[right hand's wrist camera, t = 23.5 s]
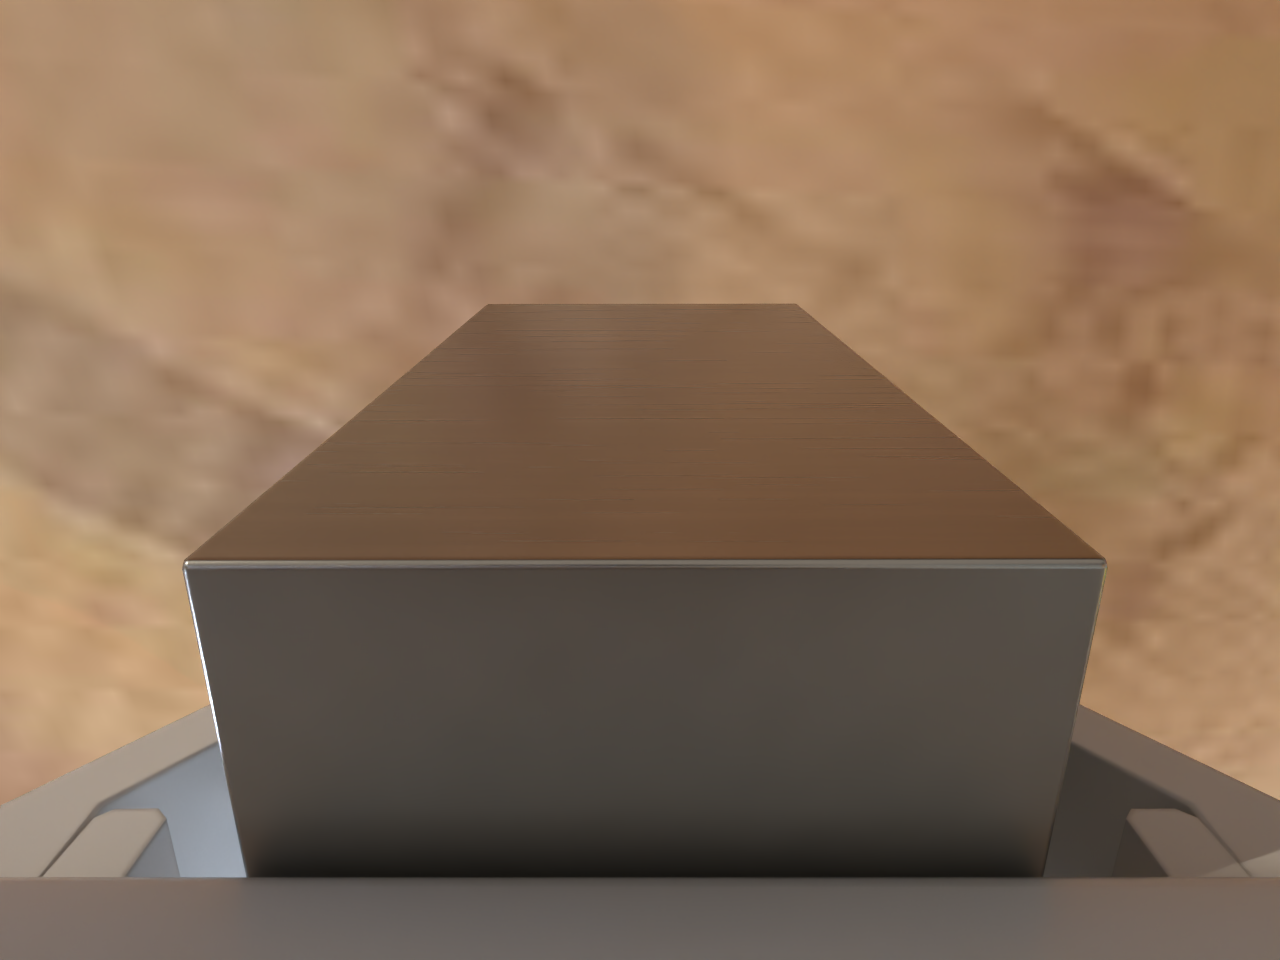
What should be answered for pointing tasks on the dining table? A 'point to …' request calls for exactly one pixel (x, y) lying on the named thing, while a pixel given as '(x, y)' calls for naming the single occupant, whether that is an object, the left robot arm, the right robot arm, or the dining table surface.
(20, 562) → the dining table surface
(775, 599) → the block
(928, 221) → the dining table surface
